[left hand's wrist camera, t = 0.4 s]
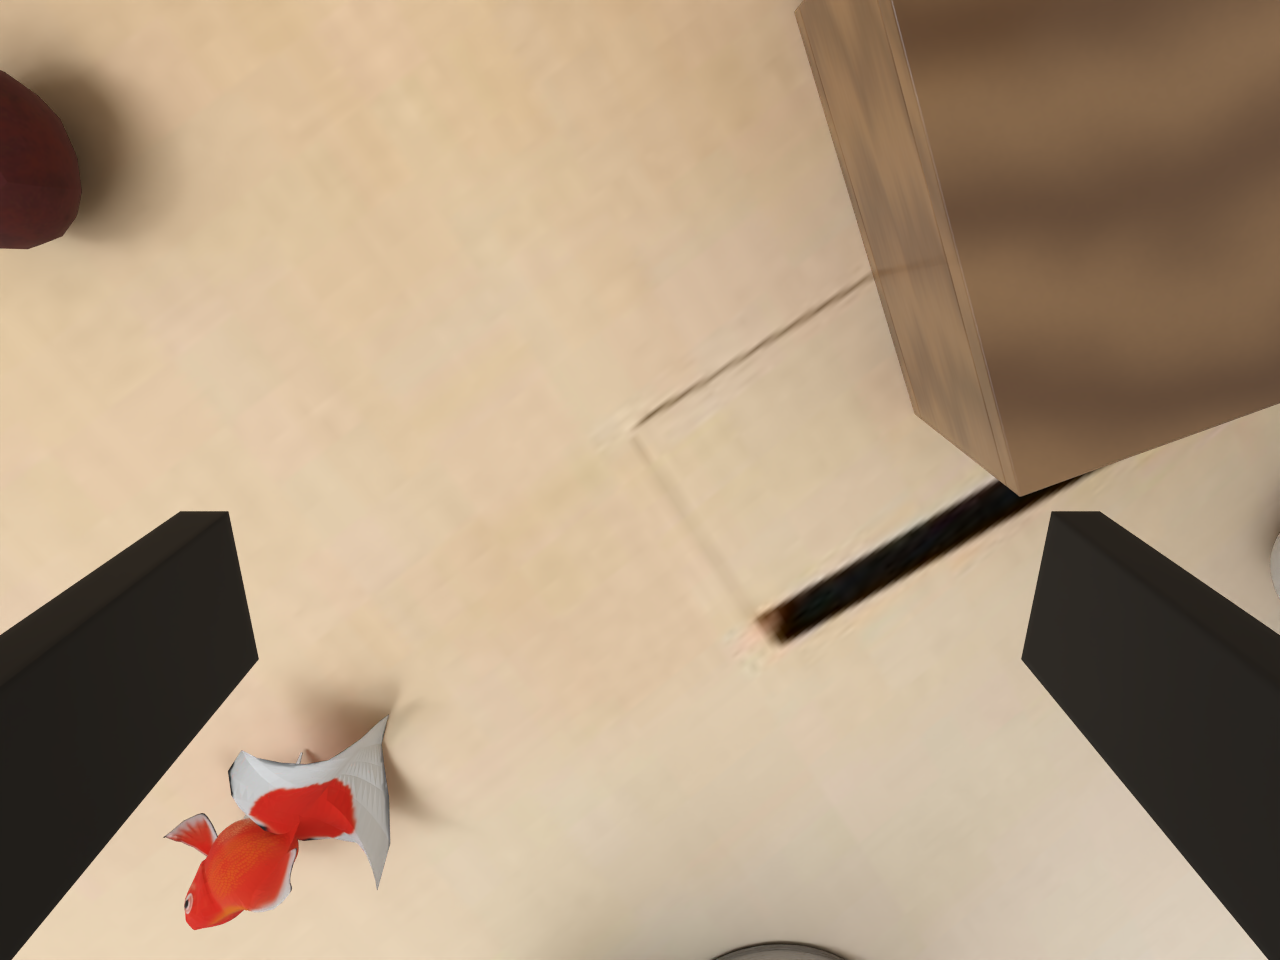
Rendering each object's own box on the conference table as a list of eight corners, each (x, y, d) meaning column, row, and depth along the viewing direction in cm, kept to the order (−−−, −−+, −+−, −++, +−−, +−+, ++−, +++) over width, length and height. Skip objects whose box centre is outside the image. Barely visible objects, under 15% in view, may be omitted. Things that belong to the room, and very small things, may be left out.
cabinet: (793, 11, 33) (869, -81, 22) (1046, -106, 32) (1260, -266, 21) (914, 414, 40) (1019, 497, 29) (1129, 332, 38) (1328, 386, 27)
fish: (83, 800, 42) (76, 957, 35) (332, 627, 46) (374, 734, 39) (213, 878, 49) (231, 1025, 41) (422, 721, 53) (473, 828, 45)
